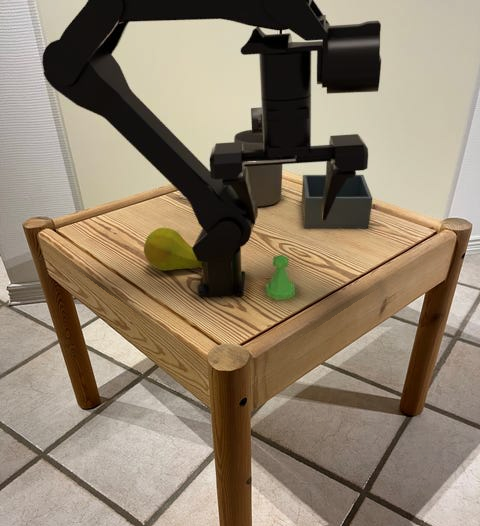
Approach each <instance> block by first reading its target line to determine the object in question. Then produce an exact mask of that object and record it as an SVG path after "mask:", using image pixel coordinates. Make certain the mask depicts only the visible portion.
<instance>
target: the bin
mask: <svg viewBox="0 0 480 526" xmlns="http://www.w3.org/2000/svg"><path fill="white" fill-rule="evenodd" d="M325 179H326V174H302V185H301V186H302V187H301V211H302V219H303V227H304V229H369V227H370V220H371V213H372V206H373V196H372V193H371V190H370V188H369V186H368V183H367V180H366V179H365V175H364V174H356V176H355V177H353V178H348V179H347V180H346V182H345V184H344V185H343V187H342V188H341V190H340V191H339V193H338V195H337V197H336V199H335V201H334V203H333V205H332V207H331V210H330V212H329V214H328V216H327V218H326V220H324V221H323V220H322V201H323V194H324V187H325Z"/></svg>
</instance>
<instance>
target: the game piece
mask: <svg viewBox="0 0 480 526" xmlns="http://www.w3.org/2000/svg"><path fill="white" fill-rule="evenodd" d="M272 259H273V261H272V266H273V267H274V268H276V270H275V271H274V274H273V275H272V278H271V279H270V282H268V283H267V284H266V285H265V290H266V296H268V297H269V298H272V300H276V301H277V300H289V299H290V298H292V297H293V296H295V295H296V288H295V284H294V283H293V282H291V280H290V278H289V275H288V273H287V270H286V268H289V262H290V258H289V257H288V256H285V255H283V254H279V255H276V256H273V258H272Z"/></svg>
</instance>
